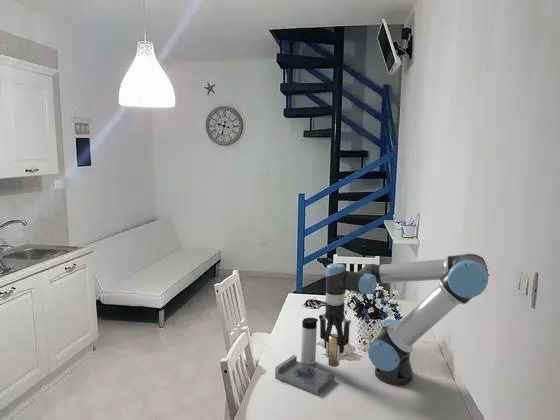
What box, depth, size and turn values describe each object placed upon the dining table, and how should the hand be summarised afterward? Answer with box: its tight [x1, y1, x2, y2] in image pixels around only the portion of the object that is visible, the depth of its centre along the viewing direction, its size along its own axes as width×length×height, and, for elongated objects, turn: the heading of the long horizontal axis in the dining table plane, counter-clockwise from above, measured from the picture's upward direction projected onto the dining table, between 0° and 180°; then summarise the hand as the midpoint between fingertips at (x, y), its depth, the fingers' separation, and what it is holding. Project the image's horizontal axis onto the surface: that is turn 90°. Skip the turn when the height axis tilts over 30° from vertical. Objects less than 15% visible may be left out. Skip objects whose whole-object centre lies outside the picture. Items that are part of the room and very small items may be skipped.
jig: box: [274, 354, 336, 396], centre depth 171 cm, size 20×13×4 cm, turn 54°
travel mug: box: [300, 317, 319, 367], centre depth 184 cm, size 6×7×20 cm
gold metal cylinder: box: [327, 333, 340, 368], centre depth 173 cm, size 4×4×12 cm
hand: (333, 357), depth 174 cm, fingers closed on gold metal cylinder, 4 cm apart
